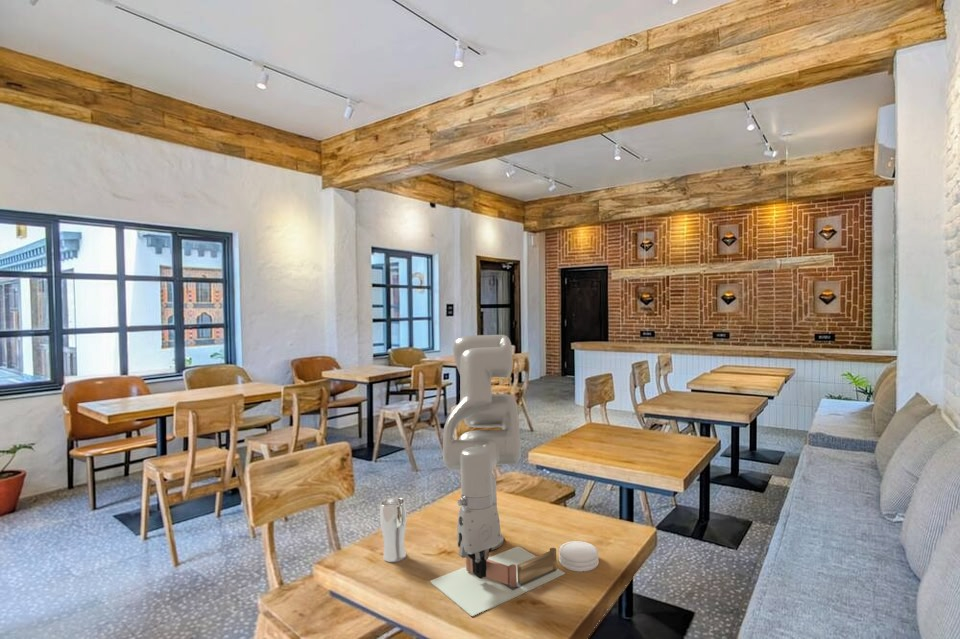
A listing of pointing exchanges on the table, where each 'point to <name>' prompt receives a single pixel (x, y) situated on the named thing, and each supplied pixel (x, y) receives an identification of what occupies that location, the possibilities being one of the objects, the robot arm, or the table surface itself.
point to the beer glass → (393, 528)
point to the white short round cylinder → (578, 556)
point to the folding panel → (497, 571)
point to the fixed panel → (537, 566)
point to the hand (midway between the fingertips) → (479, 575)
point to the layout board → (489, 584)
